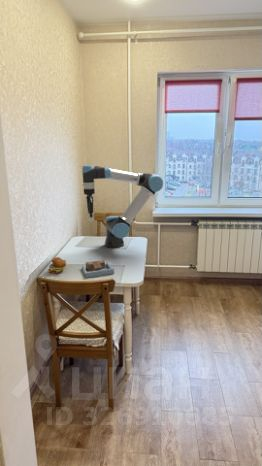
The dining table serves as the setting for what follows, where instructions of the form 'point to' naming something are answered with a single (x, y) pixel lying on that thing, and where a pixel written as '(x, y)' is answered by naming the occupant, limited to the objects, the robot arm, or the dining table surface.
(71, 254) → the dining table surface
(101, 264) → the t block
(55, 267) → the cheeseburger
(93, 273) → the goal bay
